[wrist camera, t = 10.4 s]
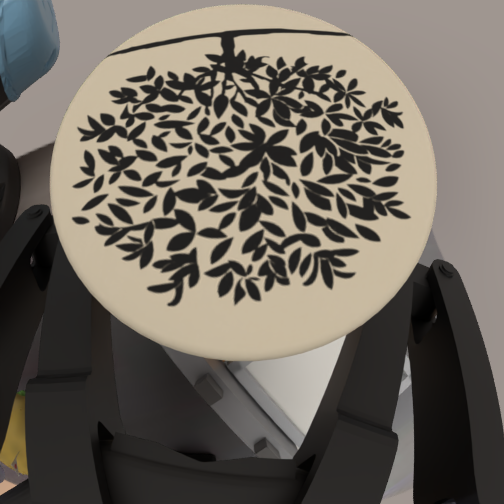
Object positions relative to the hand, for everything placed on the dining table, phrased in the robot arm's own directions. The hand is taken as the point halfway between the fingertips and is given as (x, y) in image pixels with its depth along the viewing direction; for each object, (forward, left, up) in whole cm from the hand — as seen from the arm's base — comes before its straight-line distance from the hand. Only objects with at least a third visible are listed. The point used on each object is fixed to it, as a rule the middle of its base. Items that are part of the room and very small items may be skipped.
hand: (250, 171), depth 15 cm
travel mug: (+2, -2, -8) cm, 9 cm away
